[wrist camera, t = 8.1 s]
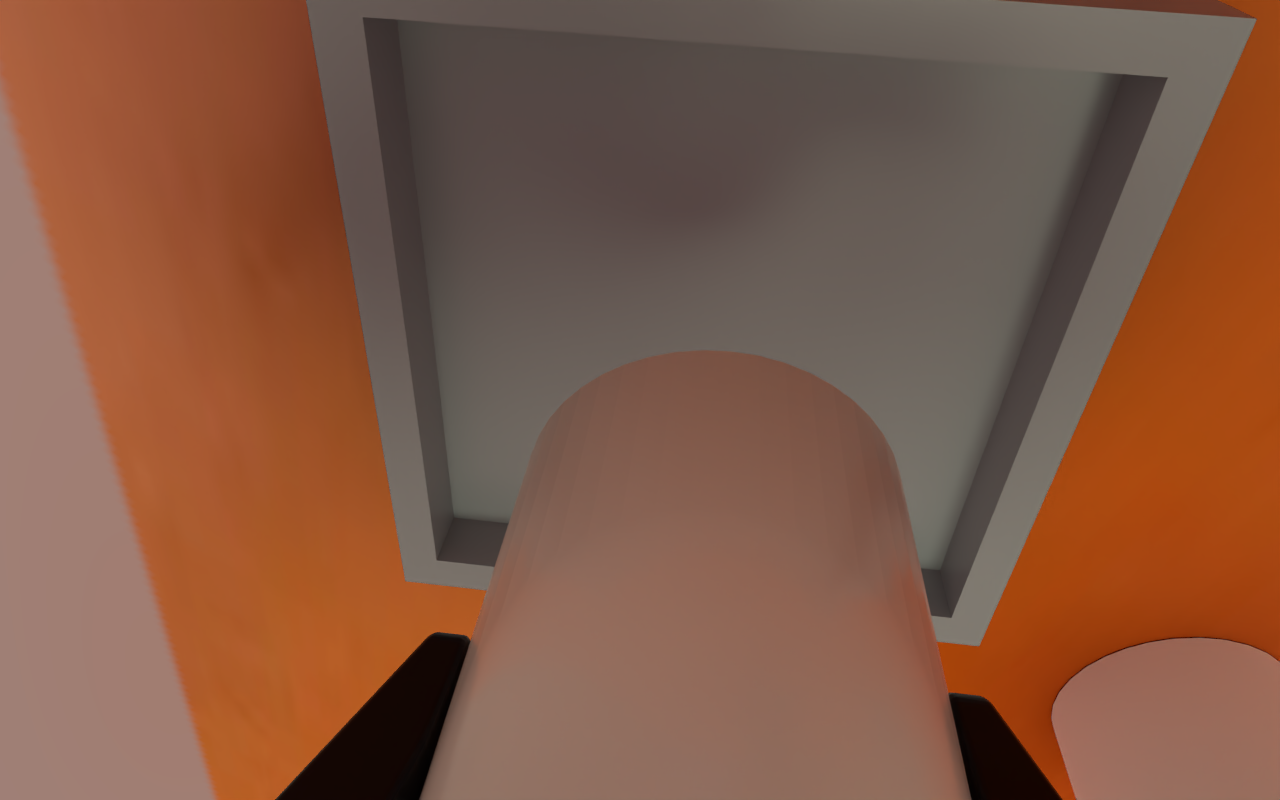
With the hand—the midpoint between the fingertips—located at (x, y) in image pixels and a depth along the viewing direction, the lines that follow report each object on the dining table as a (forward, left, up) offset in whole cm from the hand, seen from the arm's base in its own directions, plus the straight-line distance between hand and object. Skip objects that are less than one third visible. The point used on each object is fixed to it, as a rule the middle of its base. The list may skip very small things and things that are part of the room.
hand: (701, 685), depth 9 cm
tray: (0, +3, -13) cm, 13 cm away
